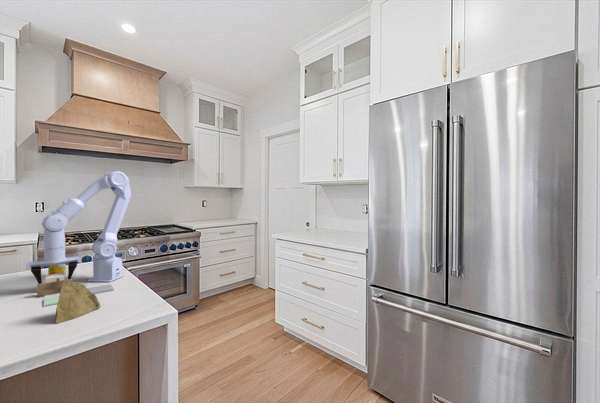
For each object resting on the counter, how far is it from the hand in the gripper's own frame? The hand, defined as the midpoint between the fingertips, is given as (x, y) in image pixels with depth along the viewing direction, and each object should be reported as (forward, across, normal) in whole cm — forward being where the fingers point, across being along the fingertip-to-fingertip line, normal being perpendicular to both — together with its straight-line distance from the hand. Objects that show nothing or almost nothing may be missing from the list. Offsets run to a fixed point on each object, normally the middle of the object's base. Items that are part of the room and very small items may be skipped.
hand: (55, 284), depth 98 cm
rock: (+2, -5, +32) cm, 32 cm away
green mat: (+1, -1, +15) cm, 15 cm away
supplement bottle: (+2, -1, -19) cm, 19 cm away
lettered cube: (+2, 0, 0) cm, 2 cm away
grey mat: (+1, -12, +12) cm, 17 cm away
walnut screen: (+1, 0, +6) cm, 6 cm away
